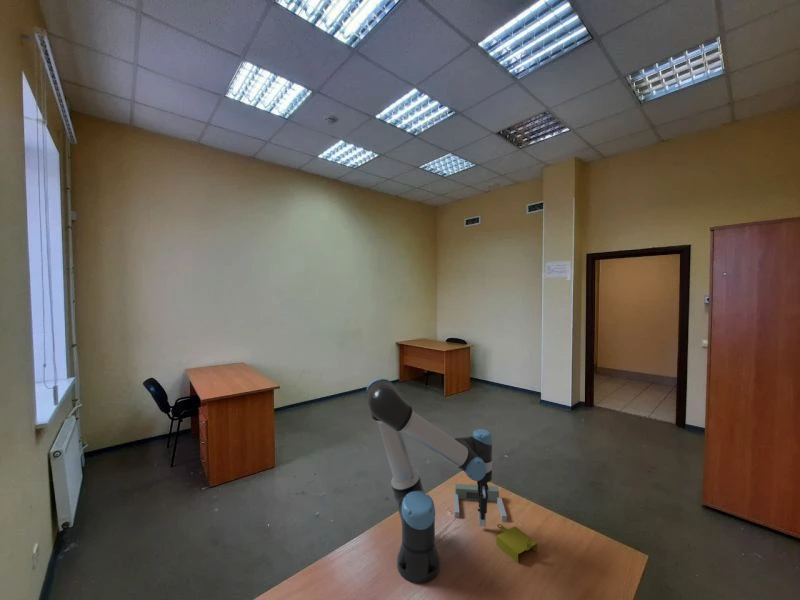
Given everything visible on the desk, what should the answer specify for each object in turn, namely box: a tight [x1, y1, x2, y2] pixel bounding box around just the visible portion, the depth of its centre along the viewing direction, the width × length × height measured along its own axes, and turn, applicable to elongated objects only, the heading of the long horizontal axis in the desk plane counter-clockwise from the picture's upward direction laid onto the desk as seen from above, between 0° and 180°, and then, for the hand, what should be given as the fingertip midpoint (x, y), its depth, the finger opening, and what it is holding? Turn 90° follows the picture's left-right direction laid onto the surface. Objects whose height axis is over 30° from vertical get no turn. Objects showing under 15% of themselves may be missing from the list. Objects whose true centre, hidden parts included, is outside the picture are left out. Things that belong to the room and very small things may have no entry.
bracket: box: [495, 523, 538, 564], centre depth 127 cm, size 16×8×15 cm
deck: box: [453, 483, 508, 522], centre depth 151 cm, size 22×17×6 cm
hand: (482, 524), depth 136 cm, fingers closed
